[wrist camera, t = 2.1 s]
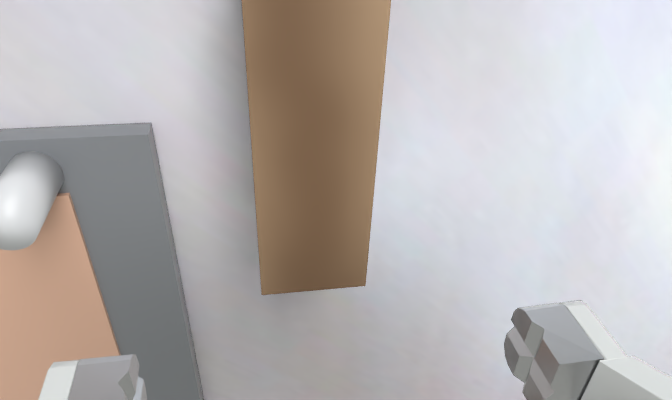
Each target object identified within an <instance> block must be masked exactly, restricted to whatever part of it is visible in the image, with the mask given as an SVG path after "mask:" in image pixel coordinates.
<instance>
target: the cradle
mask: <svg viewBox="0 0 672 400" xmlns="http://www.w3.org/2000/svg"><path fill="white" fill-rule="evenodd" d="M130 354H136V356H137V359H138V362H139V372H138V376H139V377H140V378H142V379H144V383H145V387H146V395H147V400H204V399H203V394H202V388H201V383H200V378H199V373H198V367H197V362H196V357H195V351H194V346H193V341H192V336H191V330H190V325H189V320H188V314H187V309H186V304H185V299H184V293H183V288H182V283H181V278H180V272H179V267H178V262H177V256H176V251H175V246H174V241H173V235H172V230H171V225H170V219H169V214H168V209H167V204H166V198H165V193H164V188H163V182H162V177H161V172H160V167H159V161H158V156H157V151H156V145H155V140H154V135H153V130H152V124H151V123H135V124H111V125H87V126H63V127H39V128H16V129H0V400H38V399H39V396H40V393H41V390H42V387H43V383H44V380H45V377H46V374H47V371H48V369H49V368H50V366H51V365H52V364H53V362H60V361H70V360H79V359H88V358H98V357H109V356H120V355H130Z"/></svg>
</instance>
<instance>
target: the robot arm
mask: <svg viewBox="0 0 672 400" xmlns="http://www.w3.org/2000/svg"><path fill="white" fill-rule="evenodd" d="M511 321H512V322H513V324H514V327H513V328H512V329H511V330H510V331H509V332H508V333H507V335H506V338H505V342H504V349H505V357H506V360H507V363H508V366H509V368H510V370H511V372H512V374H513V375H514V376H516V377H517V378H518V379H520V380H521V381H523V382H524V387H523V394H524V396H525V398H526V399H527V400H672V377H670V376H669V375H667V374H665V373H663V372H662V371H660V370H658V369H656V368H655V367H653V366H651V365H649V364H648V363H646V362H644V361H642V360H641V359H639V358H637V357H635V356H627V355H626V353H625V352H624V351H623V350H622V348H621V347H620V346H619V345H618V343H617V342H616V341H615V339H614V338H613V337H612V336H611V334H610V333H609V332H608V331H607V329H606V328H605V327H604V325H603V324H602V323H601V322H600V320H599V319H598V318H597V317H596V315H595V314H594V313H593V311H592V310H591V309H590V308H589V306H588V305H587V304H586V303H584V302H583V301H581V300H579V301H570V302H562V303H551V304H543V305H536V306H528V307H521V308H517V309H516V310H515V311H514V313H513V316H512V319H511ZM138 372H139V362H138V359H137V356H136V354H130V355H120V356H109V357H98V358H88V359H79V360H70V361H60V362H53V364H52V365H51V366H50V368H49V369H48V371H47V374H46V377H45V380H44V383H43V387H42V390H41V393H40V396H39V399H38V400H147V395H146V387H145V383H144V379H142V378H140V377H139V376H138Z"/></svg>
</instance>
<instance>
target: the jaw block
mask: <svg viewBox="0 0 672 400" xmlns="http://www.w3.org/2000/svg"><path fill="white" fill-rule="evenodd" d="M390 6H391V0H242V13H243V27H244V42H245V57H246V72H247V86H248V101H249V116H250V130H251V145H252V160H253V175H254V189H255V204H256V219H257V233H258V248H259V263H260V277H261V292H262V295H268V294H279V293H290V292H301V291H313V290H324V289H335V288H346V287H358V286H365V284H366V273H367V262H368V251H369V240H370V229H371V218H372V206H373V195H374V184H375V173H376V162H377V151H378V140H379V129H380V117H381V106H382V95H383V84H384V73H385V62H386V51H387V39H388V28H389V17H390Z"/></svg>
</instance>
